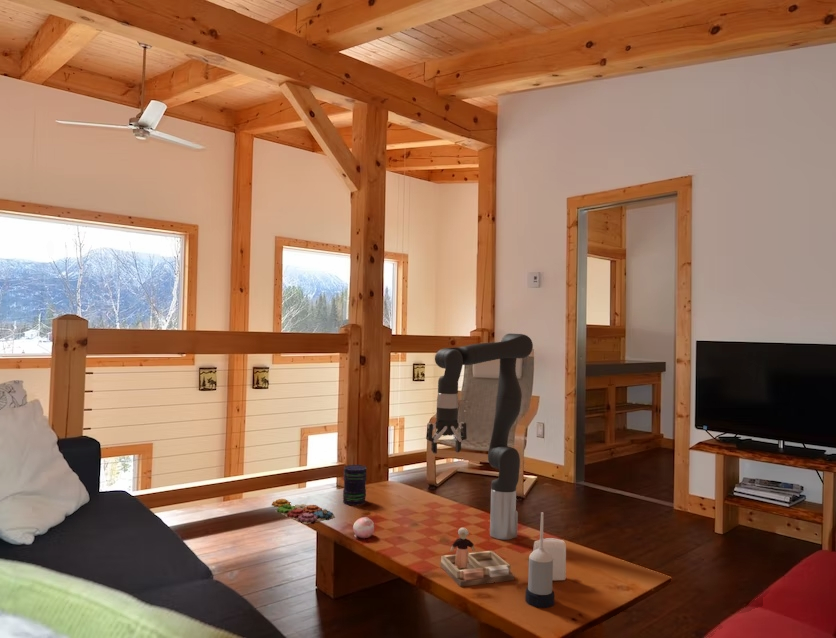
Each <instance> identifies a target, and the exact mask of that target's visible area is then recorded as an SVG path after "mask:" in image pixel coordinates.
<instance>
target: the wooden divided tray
mask: <svg viewBox="0 0 836 638" xmlns="http://www.w3.org/2000/svg"><path fill="white" fill-rule="evenodd" d="M440 557H441V558H440V565H439V566H440V568H441V569H443V570H444V572H445V573H446V574H447V575H448V576H449V577H450V578H451V579H452V580H453V581H454V582H455V583H456V584H457V585H458V586H459V587H460V588H461V587H469V586H477V585H485V584H486V583H487V584H494V582H495V583H500V582H508V581H509V582H510V580H511V581H515V574H514V573H512V572H511V564H509V563H508V562H507V561H506V560H504V559H503V558H502V557H501V556H499V555H498V554H497V553H495V552H494V550H486V551H477V552H476V551H473V552H468V562H467V567H468V569H464V570H463V569H462V568H461V567H460V569H458V568H456V567H455V566H456V565H455V559H456V553H455V554H445V555H441V556H440Z"/></svg>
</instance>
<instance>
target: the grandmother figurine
mask: <svg viewBox="0 0 836 638" xmlns="http://www.w3.org/2000/svg"><path fill="white" fill-rule="evenodd" d="M457 533H458V537H459V538H457V539H456V540H455V541H454V542H453V543H452V544H451V548H450V549H449V551H450V552H453V551H454V550H455V549H456V551H455V554H456V559H455V565H456V566H455V567H456V568H458V569H460V567H461V568H462V569H463V570H464V569H468V567H467V562H468V553H469V549H468V547H469V548H470V549H471V551H472V552H476V551H475V550H476V548H475V546H474V543H473V542H472V541H471V540H470V539H468V538H467V537H468V536H469V534H470V533H469V530H468V529H467V528H466V527H460V528H459V529H458V530H457Z"/></svg>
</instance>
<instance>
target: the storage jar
mask: <svg viewBox="0 0 836 638" xmlns="http://www.w3.org/2000/svg"><path fill="white" fill-rule="evenodd" d="M343 469H344V470H343V481H344V485H343V490H342V499H343V501H342V503H343V504H344V505H347V506H361V505H364V504H366V497H367V489H366V481H367V466H365V465H361V464H348V465H345V466H344V467H343Z"/></svg>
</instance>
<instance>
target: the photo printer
mask: <svg viewBox="0 0 836 638" xmlns="http://www.w3.org/2000/svg"><path fill="white" fill-rule="evenodd" d="M539 547H540V539H538V540H537V539H536V540H535V541H534V542H533V548H532V549H533V551H534V550H536V549H538V548H539ZM543 548H544V550H546V551H548V552H549V553H550V555H551V556H552V558H553V579H552V581H565V580H566V578H567V577H566V574H567V573H566V572H567V563H566V562H567V545H566V542H565V541H564V540H562V539H559V538H552V537H547V538H543ZM533 551H532V552H533Z"/></svg>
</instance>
